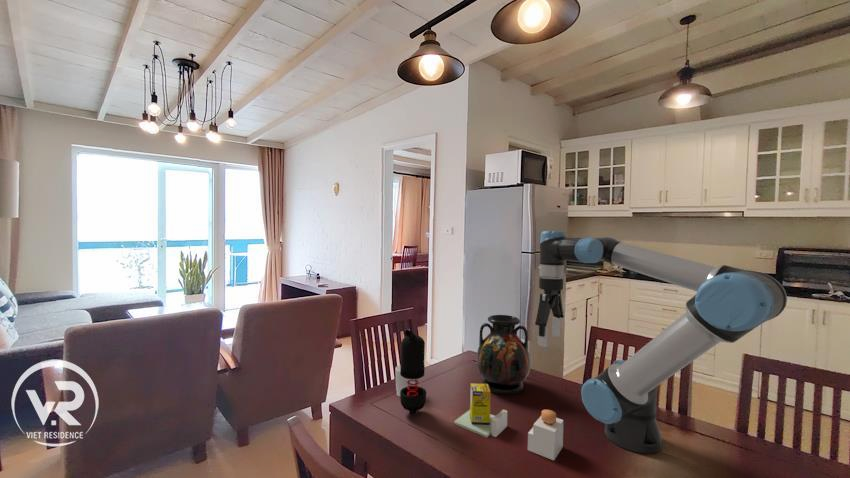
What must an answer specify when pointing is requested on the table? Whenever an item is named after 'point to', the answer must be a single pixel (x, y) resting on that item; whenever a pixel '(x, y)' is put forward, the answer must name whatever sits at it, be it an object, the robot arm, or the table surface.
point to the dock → (536, 435)
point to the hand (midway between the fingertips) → (549, 341)
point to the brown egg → (548, 416)
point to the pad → (474, 425)
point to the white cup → (401, 381)
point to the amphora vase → (503, 355)
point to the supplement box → (480, 404)
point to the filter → (412, 372)
